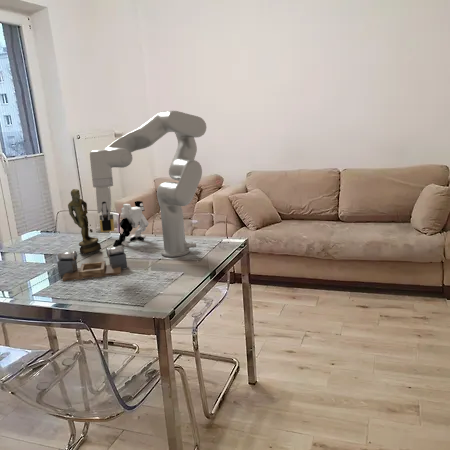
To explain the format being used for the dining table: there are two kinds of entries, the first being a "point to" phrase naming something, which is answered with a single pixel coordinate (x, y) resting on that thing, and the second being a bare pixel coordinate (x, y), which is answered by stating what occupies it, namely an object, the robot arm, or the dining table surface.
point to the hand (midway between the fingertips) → (107, 228)
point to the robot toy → (132, 223)
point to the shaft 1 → (67, 263)
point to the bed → (92, 271)
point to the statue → (82, 223)
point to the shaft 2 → (117, 257)
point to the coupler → (111, 223)
